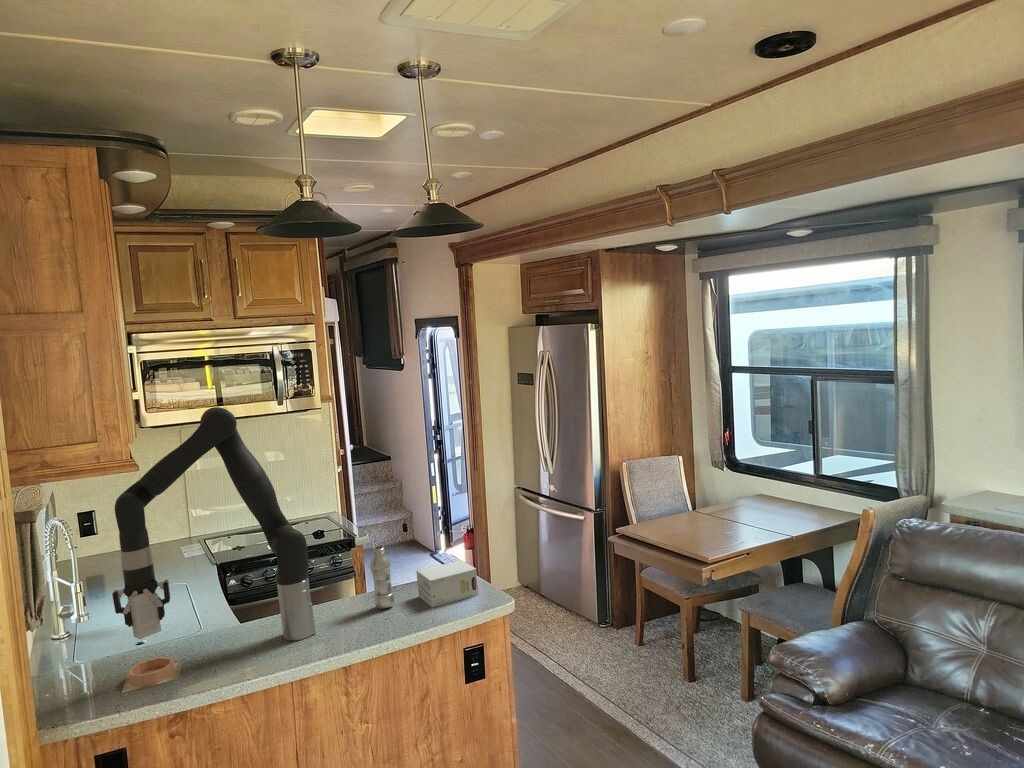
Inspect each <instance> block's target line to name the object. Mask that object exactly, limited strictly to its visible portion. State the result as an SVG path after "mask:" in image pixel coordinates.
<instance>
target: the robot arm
mask: <svg viewBox="0 0 1024 768" xmlns="http://www.w3.org/2000/svg"><path fill="white" fill-rule="evenodd" d="M237 424H238V423H237V418H236V417H235V415H234V413H232V412H231V411H229V410H227V408H223V407H220V406H218V407H217V406H213V407H211V408H208V409H205V411H204V412H203V414H202V415H201V417H200V421H199V426H198V427H197V429H196V430H195V431H194V432H193V433H192V434H191V435H190V436H189V437H188V438H187V439H186V440H185V441H184V442H183V443H181V444H180V445H179V446H177V447H176V448H175V449H173V450H172V451H171V452H169V453H168V454H167V455H165V456H164V457H162V458H161V459H160V460H159V461H157V463H155V464H154V465H153V466H152V467H151V468H150V469H149V470H147V472H145V473H144V475H143V476H142V477H141V478H140V479H139V480H137V481H136V482H134V483H133V484H132V485H130V486H129V487H128V488H127V489H126V490H124V491H123V492H122V493H121V494H120V495H119V496H118V497H117V499H116V500H115V504H114V514H115V520H116V523H117V528H118V532H119V534H118V536H119V537H118V539H119V545H120V552H121V553H120V561H121V568H122V575H123V583H124V588H123V589H119V590H118V589H114V591H113V592H112V594H111V595H112V600H113V605H114V612H115V614H117V615H118V614H122V615H123V617H124V623H125V626H127V628H132V622H131V616H130V610H129V609H130V607H131V606H132V603H131V597H130V596H135V595H137V594H141V593H145V594H146V595H147V596H148V597H149V598H150V599H151V600H152V601H153V602H155V603H156V604H157V605H158V614H159V620H160V621H162V620H163V618H165V615H166V611H165V605H166V604H168V603H170V602H171V594H170V593H171V592H170V583H169V580H168V579H165V580H163V581H157V580H156V575H155V568H154V560H153V553H152V550H151V546H150V537H149V533H148V529H147V526H146V515H145V514H146V513H145V507H146V506H147V505H148V504H149V503H151V502H152V501H153V500H154V499H155V498H156V497H157V496H160V495H161V494H163V493H164V492H165V491H167V490H168V488H170V487H171V486H172V485H173V484H175V482H177V480H178V479H179V478H181V476H183V475H184V473H185V472H186V471H188V469H190V467H192V465H194V464H196V462H197V461H198V460H199V459H201V458H202V457H203V456H204V455H206V454H207V453H208V452H209V451H211V450H212V449H213V448H215V449H216V451H217V452H218V454H219V455H220V457H221V459H222V461H223V463H224V466H225V468H226V471H227V472H228V473H227V474H228V476H229V477H230V479H231V481H232V483H233V486H234V487H235V489H236V491H237V492H238V494H239V496H240V498H241V499H242V501H243V502H244V504H245V505H246V507H247V508H248V509H249V511H250V512H251V514H252V515H253V517H254V518H255V519H256V520H257V522H258V524H259V526H260V527H261V530H262V532H263V534H264V537H265V538H266V542H267V543H268V547H269V548H270V550H271V552H272V553H273V554H275V556H276V562H277V572H276V574H275V578H276V580H275V581H276V587H277V588H276V589H277V595H278V603H279V610H280V611H279V612H280V618H281V619H280V620H281V627H282V636H283V639H284V640H285V639H286V641H289V640H290V641H291V642H292V640H293V641H300V640H304V639H306V638H309V637H310V636H313V635H317V634H316V625H315V618H314V617H315V616H314V609H313V603H312V599H311V590H310V581H309V573H308V572H309V567H310V565H309V552H308V551H309V550H308V544H307V543H308V542H307V540H306V537H305V535H304V534H303V533H302V532H301V531H300V530H298V529H296V528H294V527H293V526H292V525H291V523H290V522H289V521H288V520H287V518H286V517H285V515H284V513H283V511H282V510H281V508H280V505H279V502H278V498H277V493H276V490H275V488H274V486H273V484H272V481H271V480H270V478H269V477H268V474H267V473H266V471H265V470H264V468H263V467H262V465H261V464H260V462H259V461H258V459H256V457H255V456H254V454H253V453H252V452H251V451H250V450H249V448H248V447H247V446H246V445H245V443H244V442H243V440H242V437H241V435H240V433H239V431H238V429H237ZM158 587H159V588H160V589H161V590H162V591H163V597H164V598H161V597H160V596H159V595H158V593H157V592H156V596H155V595H154V594H153V593H154V592H155V591H157V588H158ZM123 595H125V596H126V598H128V597H130V599H129V601H128V600H127V603H126V604H125V606H124V607H123V606H122V603H121V599H122V596H123ZM152 597H153V598H152Z"/></svg>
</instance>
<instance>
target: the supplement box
mask: <svg viewBox="0 0 1024 768" xmlns="http://www.w3.org/2000/svg"><path fill="white" fill-rule="evenodd" d="M416 581H417V591H418V597H419V598H420V599H422V600H423V601H424V602H425V603H426V604H427V605H428V606H430V607H431V608H436V607H439V606H442V605H446V604H449V603H453V602H457V601H460V600H464V599H468V598H469V599H470V598H472V597H475V596H479V595H480V594H479V586H478V577H477V568H476V567H474V566H473V565H470V563H467V562H466V561H464V560H462V559H458V560H456V561H451V562H447V563H443V564H440V565H436V566H432V567H427V568H423V569H417V570H416Z"/></svg>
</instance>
